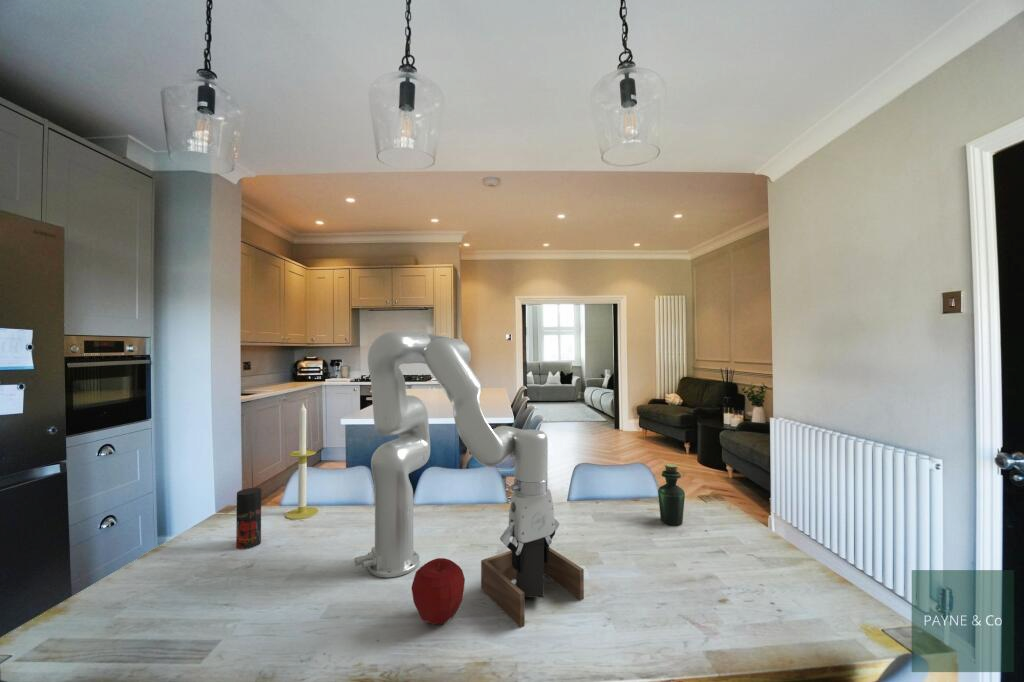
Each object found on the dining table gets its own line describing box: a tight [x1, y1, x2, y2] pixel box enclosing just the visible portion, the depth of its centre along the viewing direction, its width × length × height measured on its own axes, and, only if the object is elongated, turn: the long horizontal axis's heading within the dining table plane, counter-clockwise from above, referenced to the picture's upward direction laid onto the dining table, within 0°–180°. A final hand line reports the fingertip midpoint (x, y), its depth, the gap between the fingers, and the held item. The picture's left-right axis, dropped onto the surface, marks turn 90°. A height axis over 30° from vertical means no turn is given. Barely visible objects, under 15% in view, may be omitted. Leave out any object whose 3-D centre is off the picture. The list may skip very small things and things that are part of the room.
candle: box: [284, 403, 319, 521], centre depth 139 cm, size 10×10×38 cm
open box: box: [480, 546, 585, 628], centre depth 93 cm, size 17×16×6 cm
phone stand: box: [515, 537, 545, 599], centre depth 93 cm, size 9×6×12 cm, turn 174°
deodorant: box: [235, 487, 262, 550], centre depth 117 cm, size 6×6×15 cm
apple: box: [411, 557, 466, 626], centre depth 85 cm, size 11×11×12 cm
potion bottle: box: [657, 463, 686, 527], centre depth 132 cm, size 8×8×18 cm
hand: (530, 564), depth 93 cm, fingers closed on phone stand, 6 cm apart
